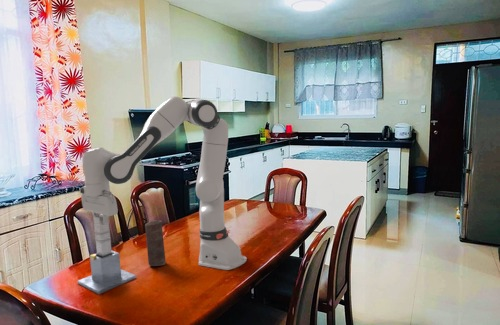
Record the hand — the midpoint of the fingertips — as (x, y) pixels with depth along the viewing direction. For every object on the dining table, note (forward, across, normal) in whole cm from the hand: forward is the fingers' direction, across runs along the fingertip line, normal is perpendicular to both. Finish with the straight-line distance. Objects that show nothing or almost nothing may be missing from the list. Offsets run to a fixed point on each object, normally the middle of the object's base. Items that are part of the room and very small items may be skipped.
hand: (101, 223), depth 139 cm
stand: (+24, 0, 0) cm, 24 cm away
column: (+19, 0, 0) cm, 19 cm away
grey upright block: (+24, -5, -21) cm, 32 cm away
